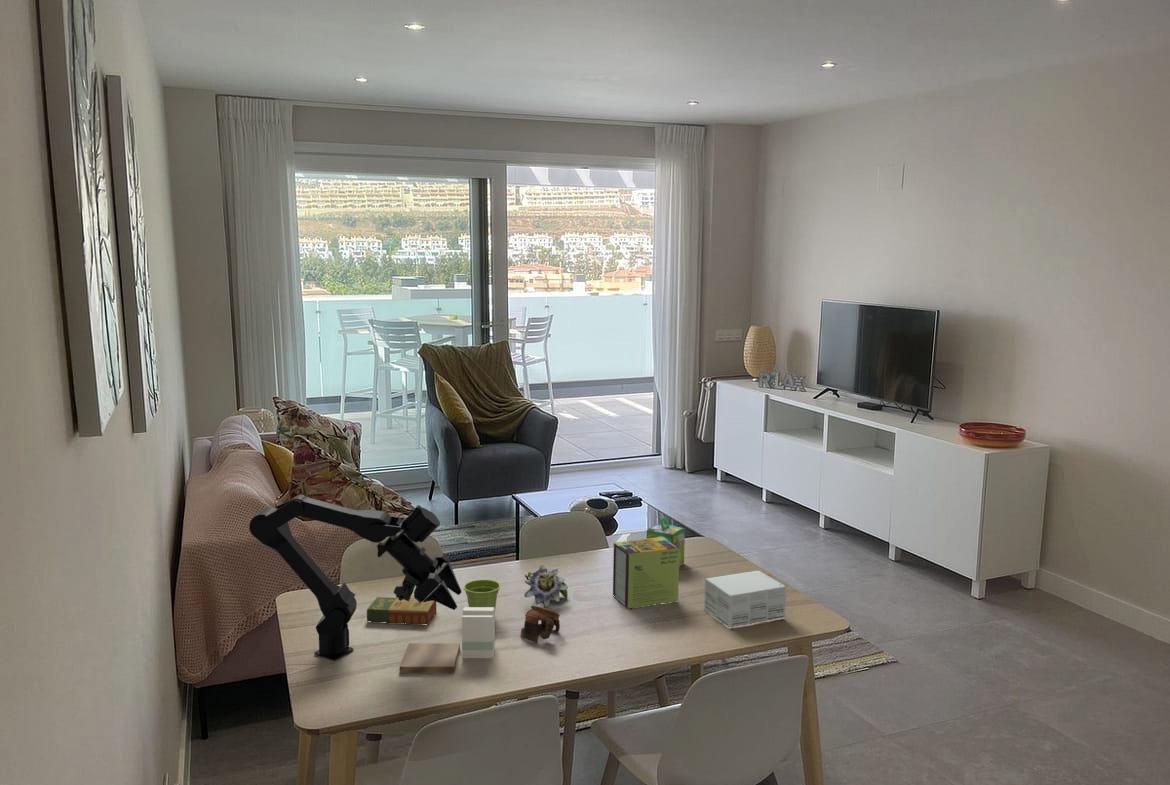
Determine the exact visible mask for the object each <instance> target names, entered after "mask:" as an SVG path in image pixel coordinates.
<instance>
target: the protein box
mask: <svg viewBox="0 0 1170 785" xmlns="http://www.w3.org/2000/svg"><path fill="white" fill-rule="evenodd" d="M679 554H680V548H679V547H678V546H676V545H675V544H673V543H672V542H670V541H668V540H667V539H665V538H664V537H656V538H648V539H647V538H641V539H634V540H623V541H617V542H613V565H612V568H613V569H612V571H613V572H612V574H613V577H612V596H613V595H614V596H615V597H616V598H617V599H618V600H619V601H620V602H621V603H622V604H621V603H620V602H619V601H618V600H617V599H616V598H615V597H614V596H613V597H614V598H615V599H616V600H617V601H618V602H619V603H620V604H621V605H623V607H624V608H626V609H627V610H631V609H630V608H632V609H636V608H635V607H640V608H643V607H642V606H647V607H649V606H648V605H654V604H661V603H668V604H670V603H669V602H675V603H677V602H676V601H678V602H679V585H680V584H679V583H680V582H679V581H680V566H679ZM661 605H662V604H661ZM654 606H655V605H654Z"/></svg>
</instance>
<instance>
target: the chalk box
mask: <svg viewBox="0 0 1170 785" xmlns="http://www.w3.org/2000/svg"><path fill="white" fill-rule="evenodd" d="M659 520H660V523H658V524H655V525H653V526H652V527H649V528H648V529H646V539H648V538H656V537H664V538H665V539H667V540H668V541H670V542H672V543H673V544H675V545H676V546H678V547H679V548H680V554H679V567H681V566H682V565H684V564H685V543H686V540H685V539H686V538H685V537H686V528H685V527H680V526H676V525H673V524H669V520H668V516H667V515H666V516H663V517H662V518H661V519H659ZM664 522H665V524H664ZM683 563H684V564H683ZM681 564H682V565H681ZM680 565H681V566H680Z"/></svg>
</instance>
